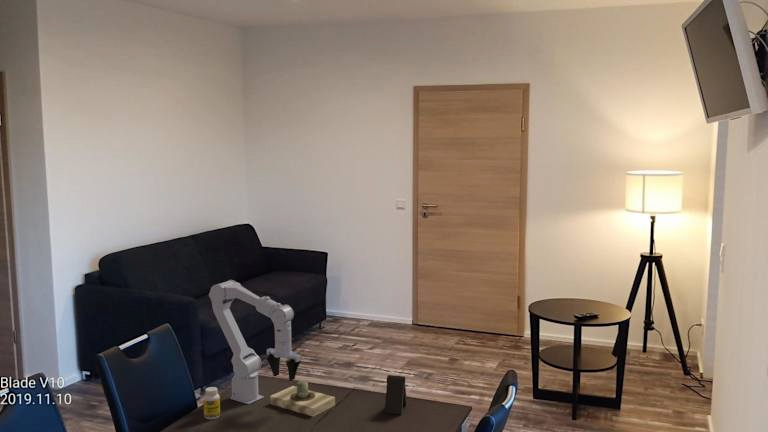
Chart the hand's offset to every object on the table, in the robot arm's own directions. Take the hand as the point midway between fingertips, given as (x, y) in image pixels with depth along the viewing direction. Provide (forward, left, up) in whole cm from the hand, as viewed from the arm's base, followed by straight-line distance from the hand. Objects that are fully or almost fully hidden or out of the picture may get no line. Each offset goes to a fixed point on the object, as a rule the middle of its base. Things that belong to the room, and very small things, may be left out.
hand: (284, 377), depth 237 cm
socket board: (+5, +4, -10) cm, 12 cm away
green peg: (+5, +4, -10) cm, 12 cm away
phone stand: (+35, +19, -10) cm, 41 cm away
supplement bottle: (-14, -21, -10) cm, 27 cm away
